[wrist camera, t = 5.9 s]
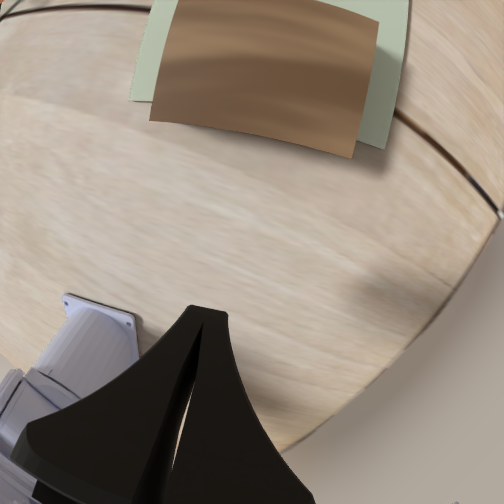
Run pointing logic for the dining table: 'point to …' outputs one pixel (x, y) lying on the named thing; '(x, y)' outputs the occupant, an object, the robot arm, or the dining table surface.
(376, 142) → the mat
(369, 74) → the slab
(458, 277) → the dining table surface
